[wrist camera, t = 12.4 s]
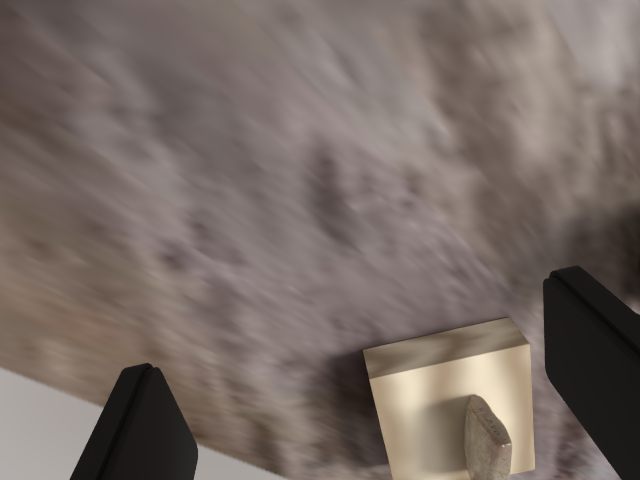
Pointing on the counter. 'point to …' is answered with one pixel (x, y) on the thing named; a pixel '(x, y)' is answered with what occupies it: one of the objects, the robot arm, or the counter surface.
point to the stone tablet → (486, 443)
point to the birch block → (451, 396)
